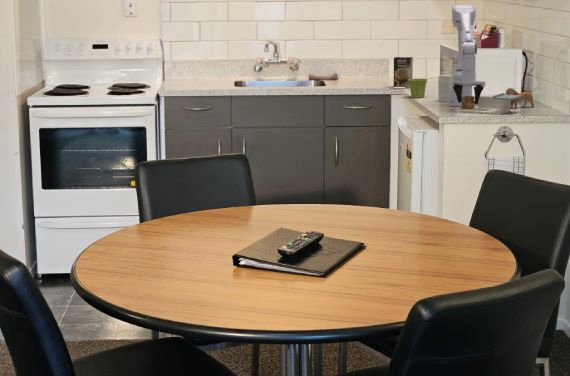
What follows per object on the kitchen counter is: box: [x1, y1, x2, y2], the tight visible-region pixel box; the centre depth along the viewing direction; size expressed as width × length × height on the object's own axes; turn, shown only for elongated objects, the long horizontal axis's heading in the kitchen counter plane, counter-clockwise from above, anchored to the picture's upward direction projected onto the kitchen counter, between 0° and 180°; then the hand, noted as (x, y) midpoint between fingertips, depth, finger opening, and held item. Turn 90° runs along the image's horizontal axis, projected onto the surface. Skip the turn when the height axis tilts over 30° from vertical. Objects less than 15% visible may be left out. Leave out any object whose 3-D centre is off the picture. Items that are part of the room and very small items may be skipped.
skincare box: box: [437, 74, 454, 103], centre depth 442 cm, size 6×4×12 cm
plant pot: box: [408, 78, 428, 99], centre depth 460 cm, size 9×9×9 cm
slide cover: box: [492, 92, 521, 100], centre depth 398 cm, size 8×11×1 cm
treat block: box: [461, 95, 475, 109], centre depth 408 cm, size 4×4×5 cm
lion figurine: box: [505, 87, 535, 110], centre depth 413 cm, size 15×5×9 cm, turn 114°
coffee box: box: [393, 56, 414, 88], centre depth 502 cm, size 9×6×16 cm
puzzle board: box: [454, 95, 511, 115], centre depth 405 cm, size 20×12×6 cm, turn 56°
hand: (468, 102), depth 408 cm, fingers open, 7 cm apart
